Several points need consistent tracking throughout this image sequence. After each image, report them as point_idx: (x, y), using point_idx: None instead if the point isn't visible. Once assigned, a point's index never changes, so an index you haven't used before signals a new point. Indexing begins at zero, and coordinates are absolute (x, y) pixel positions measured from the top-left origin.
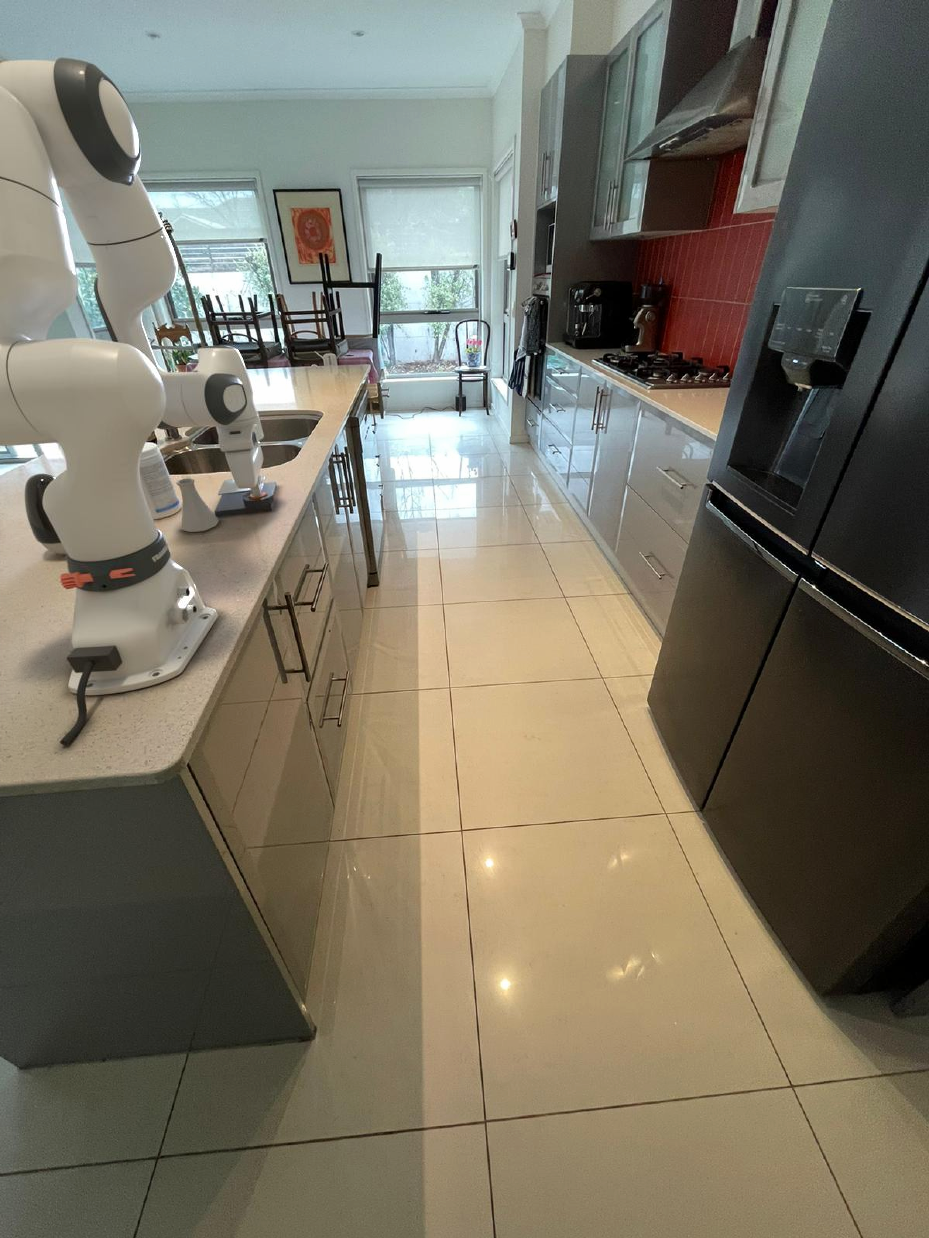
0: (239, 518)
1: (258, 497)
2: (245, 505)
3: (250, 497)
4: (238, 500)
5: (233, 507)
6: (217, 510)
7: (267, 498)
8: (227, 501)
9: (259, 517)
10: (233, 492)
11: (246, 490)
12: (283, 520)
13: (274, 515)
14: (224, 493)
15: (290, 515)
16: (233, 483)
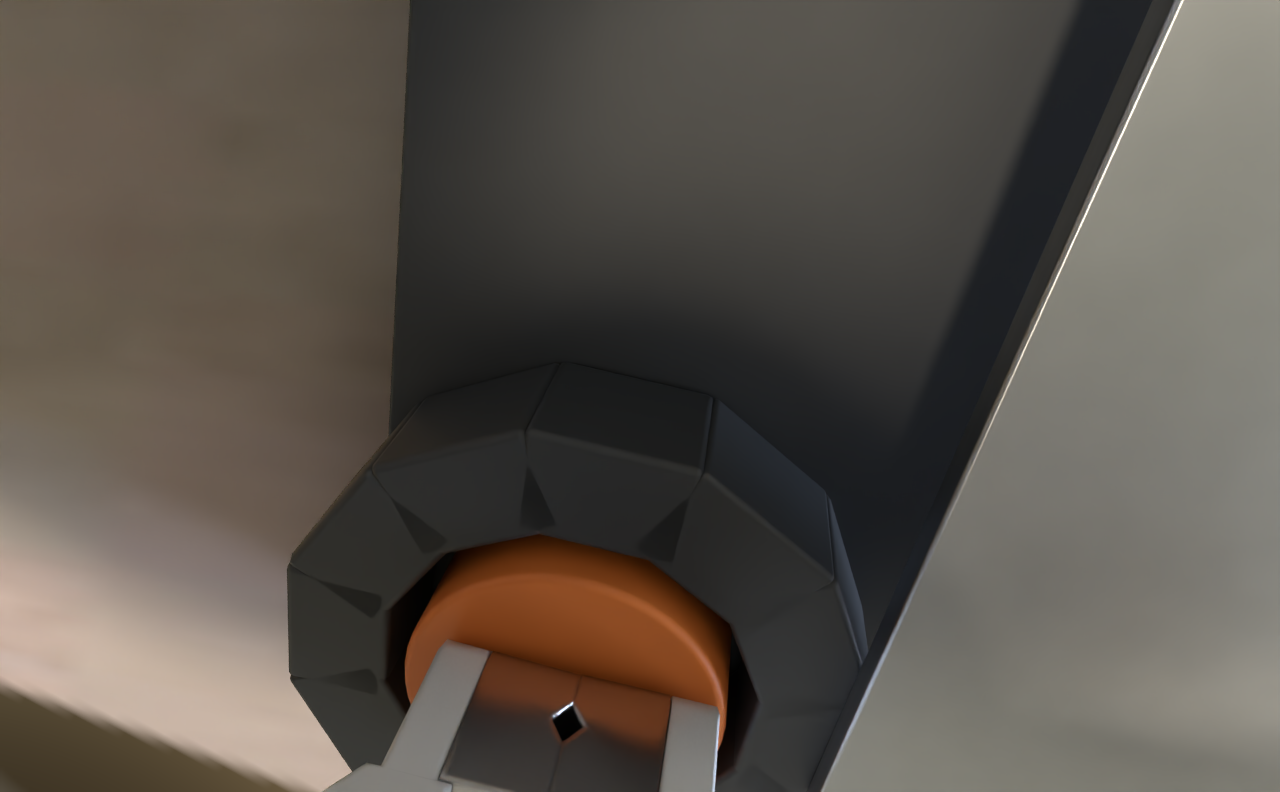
0: (281, 161)
1: (408, 681)
2: (525, 372)
3: (497, 570)
4: (929, 283)
5: (521, 134)
6: None
7: (355, 762)
8: (1045, 21)
9: (234, 443)
10: (1042, 301)
11: (913, 598)
12: (64, 649)
13: (250, 607)
14: (1155, 22)
15: (198, 734)
16: None
